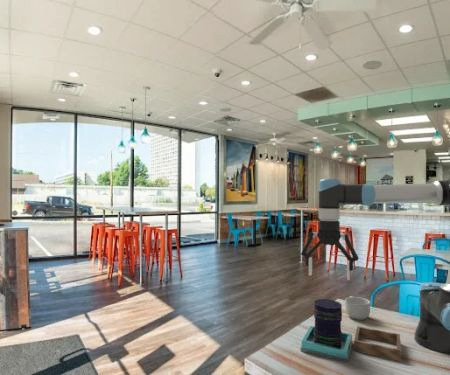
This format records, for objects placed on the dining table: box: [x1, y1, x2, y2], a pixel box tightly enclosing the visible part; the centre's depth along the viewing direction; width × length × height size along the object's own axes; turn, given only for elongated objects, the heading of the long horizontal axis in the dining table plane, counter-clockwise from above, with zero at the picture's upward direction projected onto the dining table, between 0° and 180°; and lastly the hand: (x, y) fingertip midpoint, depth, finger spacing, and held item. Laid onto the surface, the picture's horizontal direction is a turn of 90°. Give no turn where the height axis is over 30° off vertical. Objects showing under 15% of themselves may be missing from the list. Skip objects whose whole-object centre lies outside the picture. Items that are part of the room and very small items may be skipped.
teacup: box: [344, 295, 371, 321], centre depth 148 cm, size 14×11×8 cm
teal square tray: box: [300, 325, 354, 363], centre depth 116 cm, size 16×16×4 cm
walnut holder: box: [353, 325, 402, 362], centre depth 117 cm, size 15×15×4 cm
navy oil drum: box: [313, 298, 343, 348], centre depth 117 cm, size 10×10×15 cm
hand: (328, 277), depth 117 cm, fingers open, 13 cm apart
